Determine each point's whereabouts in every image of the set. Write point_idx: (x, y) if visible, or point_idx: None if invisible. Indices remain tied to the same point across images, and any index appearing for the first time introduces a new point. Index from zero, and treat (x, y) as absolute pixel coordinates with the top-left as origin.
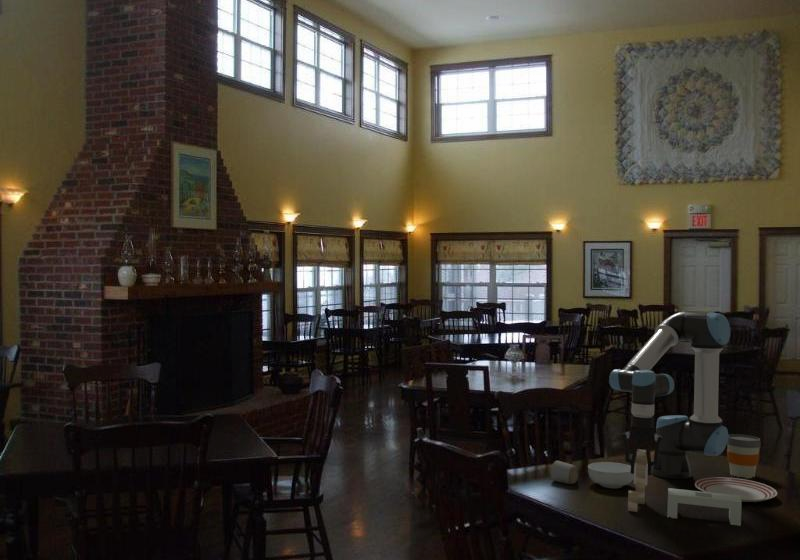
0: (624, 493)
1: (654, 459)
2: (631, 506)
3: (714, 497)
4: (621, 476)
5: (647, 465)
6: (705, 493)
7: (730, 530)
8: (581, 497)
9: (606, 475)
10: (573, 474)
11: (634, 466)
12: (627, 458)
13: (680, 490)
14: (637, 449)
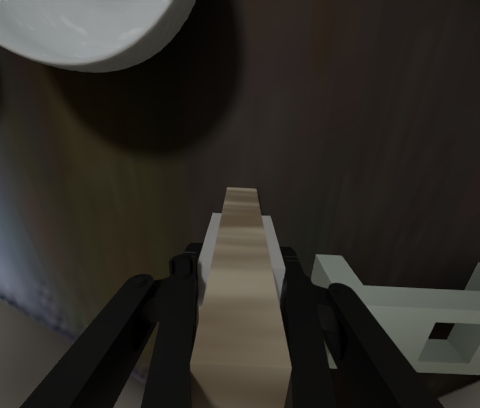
0: (184, 94)
1: (336, 354)
2: None
3: (477, 359)
4: (142, 53)
5: (279, 288)
6: (469, 322)
7: None
8: (58, 206)
9: (64, 68)
10: None
11: (200, 299)
12: (139, 336)
13: (383, 319)
14: (194, 375)
